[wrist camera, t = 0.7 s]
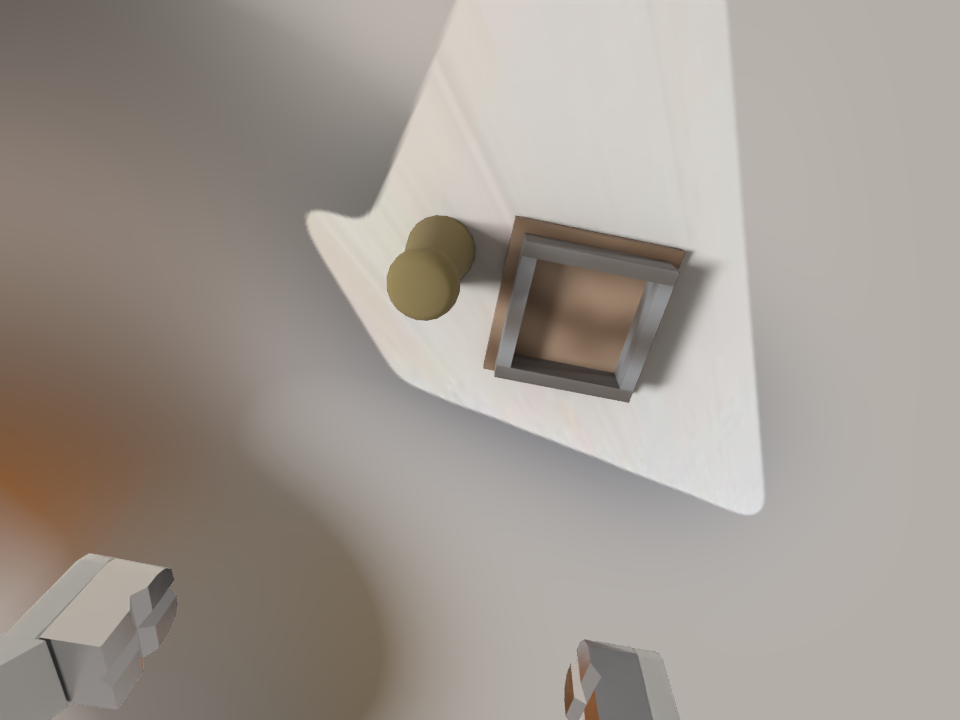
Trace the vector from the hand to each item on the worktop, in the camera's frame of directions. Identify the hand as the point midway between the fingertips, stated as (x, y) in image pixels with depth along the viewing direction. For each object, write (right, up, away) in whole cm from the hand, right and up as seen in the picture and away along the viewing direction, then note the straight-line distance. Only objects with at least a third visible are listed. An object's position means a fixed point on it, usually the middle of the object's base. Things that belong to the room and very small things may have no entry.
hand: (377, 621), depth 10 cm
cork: (-1, +15, +33) cm, 37 cm away
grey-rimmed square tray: (+11, +10, +35) cm, 38 cm away
